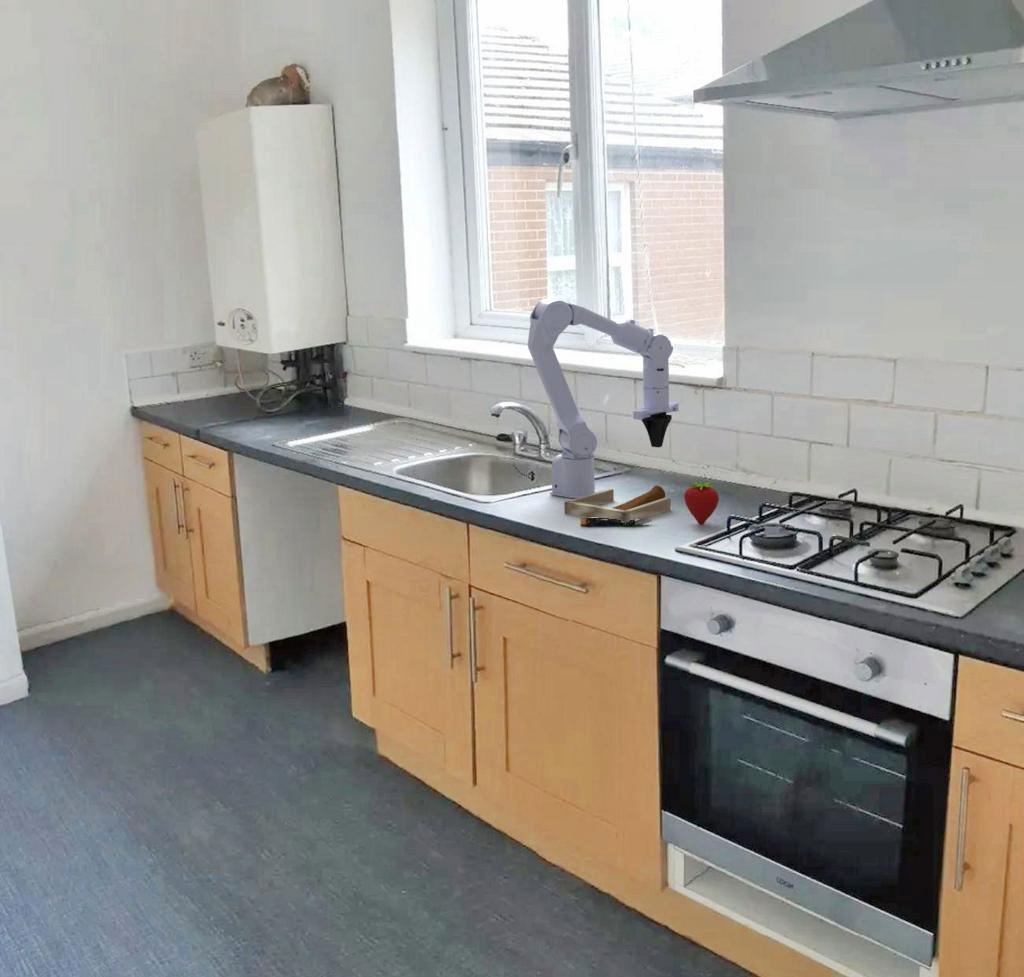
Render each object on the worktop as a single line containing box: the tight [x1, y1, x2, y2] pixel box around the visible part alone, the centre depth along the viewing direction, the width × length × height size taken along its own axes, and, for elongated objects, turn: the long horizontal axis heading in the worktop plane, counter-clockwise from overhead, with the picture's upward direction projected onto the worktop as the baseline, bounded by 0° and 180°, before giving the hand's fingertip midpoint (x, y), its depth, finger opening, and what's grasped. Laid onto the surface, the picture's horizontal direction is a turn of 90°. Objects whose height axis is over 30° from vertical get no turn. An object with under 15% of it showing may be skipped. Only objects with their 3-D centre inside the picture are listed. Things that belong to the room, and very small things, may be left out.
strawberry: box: [683, 474, 720, 525], centre depth 216 cm, size 6×8×10 cm
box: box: [563, 488, 671, 525], centre depth 229 cm, size 16×15×2 cm
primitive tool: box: [612, 485, 666, 510], centre depth 233 cm, size 19×6×4 cm, turn 141°
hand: (656, 446), depth 249 cm, fingers closed
